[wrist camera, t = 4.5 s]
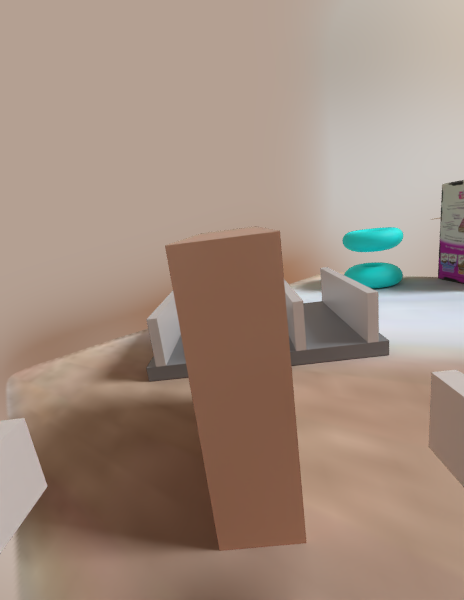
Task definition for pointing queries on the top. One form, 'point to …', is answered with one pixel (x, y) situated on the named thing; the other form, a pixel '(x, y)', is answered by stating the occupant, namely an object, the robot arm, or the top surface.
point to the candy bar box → (452, 233)
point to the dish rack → (290, 327)
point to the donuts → (370, 242)
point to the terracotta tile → (241, 382)
